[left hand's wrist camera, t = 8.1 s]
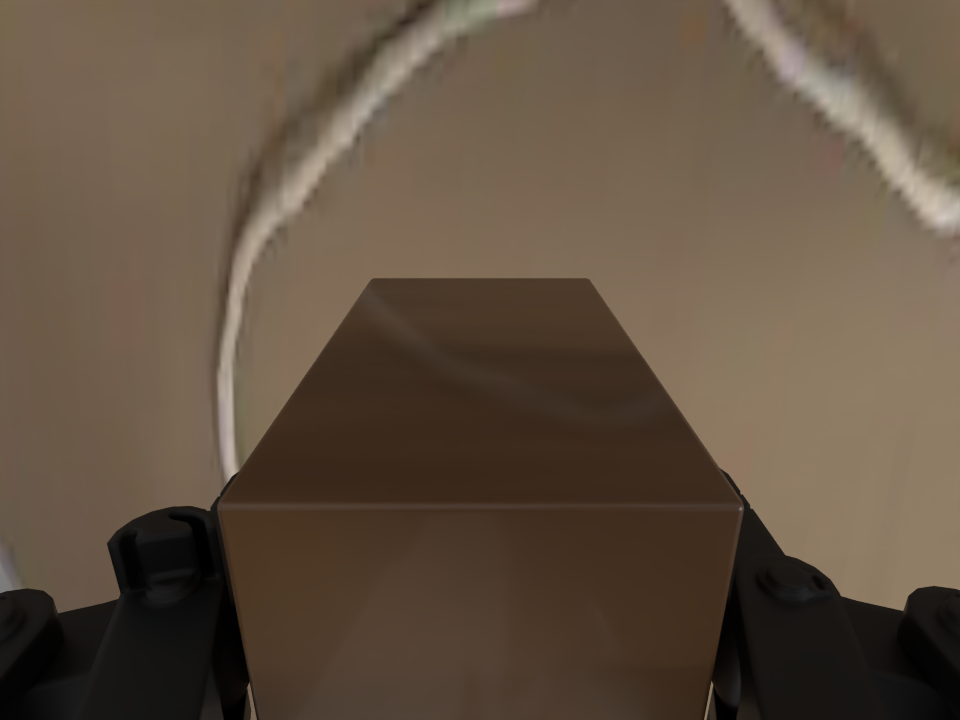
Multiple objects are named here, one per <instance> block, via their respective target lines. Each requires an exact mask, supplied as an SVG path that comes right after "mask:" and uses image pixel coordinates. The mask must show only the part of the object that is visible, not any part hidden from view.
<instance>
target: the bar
mask: <svg viewBox="0 0 960 720" xmlns="http://www.w3.org/2000/svg"><path fill="white" fill-rule="evenodd" d="M217 511H218V516H219V522H220V527H221V532H222V538H223V543H224V548H225V553H226V559H227V564H228V569H229V574H230V580H231V585H232V590H233V596H234V601H235V606H236V611H237V617H238V622H239V627H240V633H241V638H242V643H243V648H244V654H245V659H246V664H247V669H248V675H249V680H250V685H251V691H252V696H253V701H254V706H255V712H256V717H257V720H704V717H705V711H706V706H707V701H708V696H709V690H710V685H711V680H712V675H713V669H714V664H715V659H716V654H717V648H718V643H719V638H720V633H721V627H722V622H723V617H724V612H725V606H726V601H727V596H728V591H729V585H730V580H731V575H732V570H733V564H734V559H735V554H736V549H737V544H738V538H739V533H740V528H741V523H742V517H743V512H744V506H743V502H742V500H741V499H740V497H739V496H738V494H737V493H736V491H735V490H734V489H733V487H732V486H731V484H730V483H729V481H728V480H727V478H726V477H725V475H724V474H723V473H722V471H721V470H720V468H719V467H718V465H717V464H716V462H715V461H714V460H713V458H712V457H711V455H710V454H709V452H708V451H707V449H706V448H705V446H704V445H703V444H702V442H701V441H700V439H699V438H698V436H697V435H696V433H695V432H694V431H693V429H692V428H691V426H690V425H689V423H688V422H687V420H686V419H685V417H684V416H683V415H682V413H681V412H680V410H679V409H678V407H677V406H676V404H675V403H674V402H673V400H672V399H671V397H670V396H669V394H668V393H667V391H666V390H665V388H664V387H663V386H662V384H661V383H660V381H659V380H658V378H657V377H656V375H655V374H654V373H653V371H652V370H651V368H650V367H649V365H648V364H647V362H646V361H645V359H644V358H643V357H642V355H641V354H640V352H639V351H638V349H637V348H636V346H635V345H634V344H633V342H632V341H631V339H630V338H629V336H628V335H627V333H626V332H625V330H624V329H623V328H622V326H621V325H620V323H619V322H618V320H617V319H616V317H615V316H614V315H613V313H612V312H611V310H610V309H609V307H608V306H607V304H606V303H605V301H604V300H603V299H602V297H601V296H600V294H599V293H598V291H597V290H596V288H595V287H594V286H593V284H592V283H591V281H590V280H589V279H587V278H374V279H371V281H370V282H369V283H368V285H367V286H366V288H365V289H364V291H363V292H362V294H361V295H360V297H359V298H358V299H357V301H356V302H355V304H354V305H353V307H352V308H351V310H350V311H349V313H348V314H347V315H346V317H345V318H344V320H343V321H342V323H341V324H340V326H339V327H338V329H337V330H336V331H335V333H334V334H333V336H332V337H331V339H330V340H329V342H328V343H327V345H326V346H325V347H324V349H323V350H322V352H321V353H320V355H319V356H318V358H317V359H316V361H315V362H314V364H313V365H312V366H311V368H310V369H309V371H308V372H307V374H306V375H305V377H304V378H303V380H302V381H301V382H300V384H299V385H298V387H297V388H296V390H295V391H294V393H293V394H292V396H291V397H290V398H289V400H288V401H287V403H286V404H285V406H284V407H283V409H282V410H281V412H280V413H279V414H278V416H277V417H276V419H275V420H274V422H273V423H272V425H271V426H270V428H269V429H268V430H267V432H266V433H265V435H264V436H263V438H262V439H261V441H260V442H259V444H258V445H257V446H256V448H255V449H254V451H253V452H252V454H251V455H250V457H249V458H248V460H247V461H246V462H245V464H244V465H243V467H242V468H241V470H240V471H239V473H238V474H237V476H236V477H235V478H234V480H233V481H232V483H231V484H230V486H229V487H228V489H227V490H226V492H225V493H224V494H223V496H222V497H221V499H220V500H219V503H218V506H217Z"/></svg>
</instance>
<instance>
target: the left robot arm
mask: <svg viewBox="0 0 960 720" xmlns="http://www.w3.org/2000/svg"><path fill="white" fill-rule="evenodd" d="M720 470H721V471H722V473H723V474H724V475H725V477H726V478H727V480H728V481H729V483H730V484H731V486H732V487H733V489H734V490H735V491H736V493H737V494H738V496H739V497H740V499H741V500H742V502H743V506H744V512H743V517H742V523H741V528H740V533H739V538H738V544H737V549H736V554H735V559H734V564H733V570H732V575H731V580H730V585H729V591H728V596H727V601H726V606H725V612H724V617H723V622H722V627H721V633H720V638H719V643H718V648H717V654H716V659H715V664H714V669H713V675H712V683H713V689H712V695H711V700H710V705H709V710H708V715H707V720H960V590H957V589H952V588H945V587H937V586H931V587H924V588H918V589H916V590H915V591H914V592H913V593H911V594H910V595H909V596H908V599H907V602H906V605H905V608H904V611H900V610H896V609H891V608H887V607H882V606H878V605H873V604H869V603H864V602H860V601H856V600H852V599H849V598H845V597H842V596H840V593H839V592H838V590H837V589H836V587H835V586H834V584H833V583H832V581H831V580H830V579H829V578H828V577H827V576H825V575H824V574H823V573H822V572H820V571H819V570H818V569H817V568H815V567H813V566H811V565H809V564H807V563H805V562H803V561H801V560H799V559H797V558H794V557H790V556H786V555H785V554H784V553H783V551H782V550H781V548H780V547H779V546H778V544H777V543H776V541H775V540H774V539H773V537H772V536H771V534H770V533H769V531H768V530H767V529H766V527H765V526H764V524H763V523H762V521H761V520H760V519H759V517H758V516H757V514H756V513H755V511H754V510H753V509H750V504H749V503H748V501H747V500H746V499H745V497H744V496H743V495H741V494H740V490H739V489H738V487H737V486H736V484H735V483H734V482H733V480H732V479H731V477H730V476H729V474H727V473H726V472H724V471H723V470H722V469H720ZM238 473H239V472H238ZM238 473H236V474H235V475H233V476H232V477H231V479H230V480H229V482H228V483H227V485H226V486H225V487H224V489H223V490H222V492H221V495H220V497H217V499H216V500H215V502H214V503H213V505H212V506H211V510H210V511H207V510H205V509H201V508H197V507H193V506H179V507H169V508H165V509H161V510H156V511H152V512H150V513H147V514H145V515H143V516H141V517H138V518H136V519H134V520H132V521H130V522H129V523H128V524H126V525H125V526H123V527H122V528H120V529H119V530H118V531H116V533H115V534H114V535H113V536H112V538H111V539H110V540H109V542H108V543H107V545H108V549H109V553H110V556H111V560H112V564H113V567H114V571H115V574H116V578H117V582H118V585H119V589H120V593H121V594H120V597H119V599H117V600H113V601H110V602H107V603H103V604H98V605H94V606H89V607H85V608H80V609H76V610H71V611H67V612H63V613H58V612H57V609H56V606H55V603H54V600H53V598H52V597H51V596H49V595H48V594H47V593H46V592H44V591H41V590H34V589H20V590H13V591H6V592H3V593H0V720H250V718H251V707H250V700H249V695H248V689H247V687H248V684H249V682H250V680H249V675H248V669H247V664H246V659H245V654H244V648H243V643H242V638H241V633H240V627H239V622H238V617H237V611H236V606H235V601H234V596H233V590H232V585H231V580H230V574H229V569H228V564H227V559H226V553H225V548H224V543H223V538H222V532H221V527H220V522H219V516H218V511H217V506H218V503H219V500H220V499H221V497H222V496H223V494H224V493H225V492H226V490H227V489H228V487H229V486H230V484H231V483H232V481H233V480H234V478H235V477H236V476H237V474H238Z"/></svg>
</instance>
